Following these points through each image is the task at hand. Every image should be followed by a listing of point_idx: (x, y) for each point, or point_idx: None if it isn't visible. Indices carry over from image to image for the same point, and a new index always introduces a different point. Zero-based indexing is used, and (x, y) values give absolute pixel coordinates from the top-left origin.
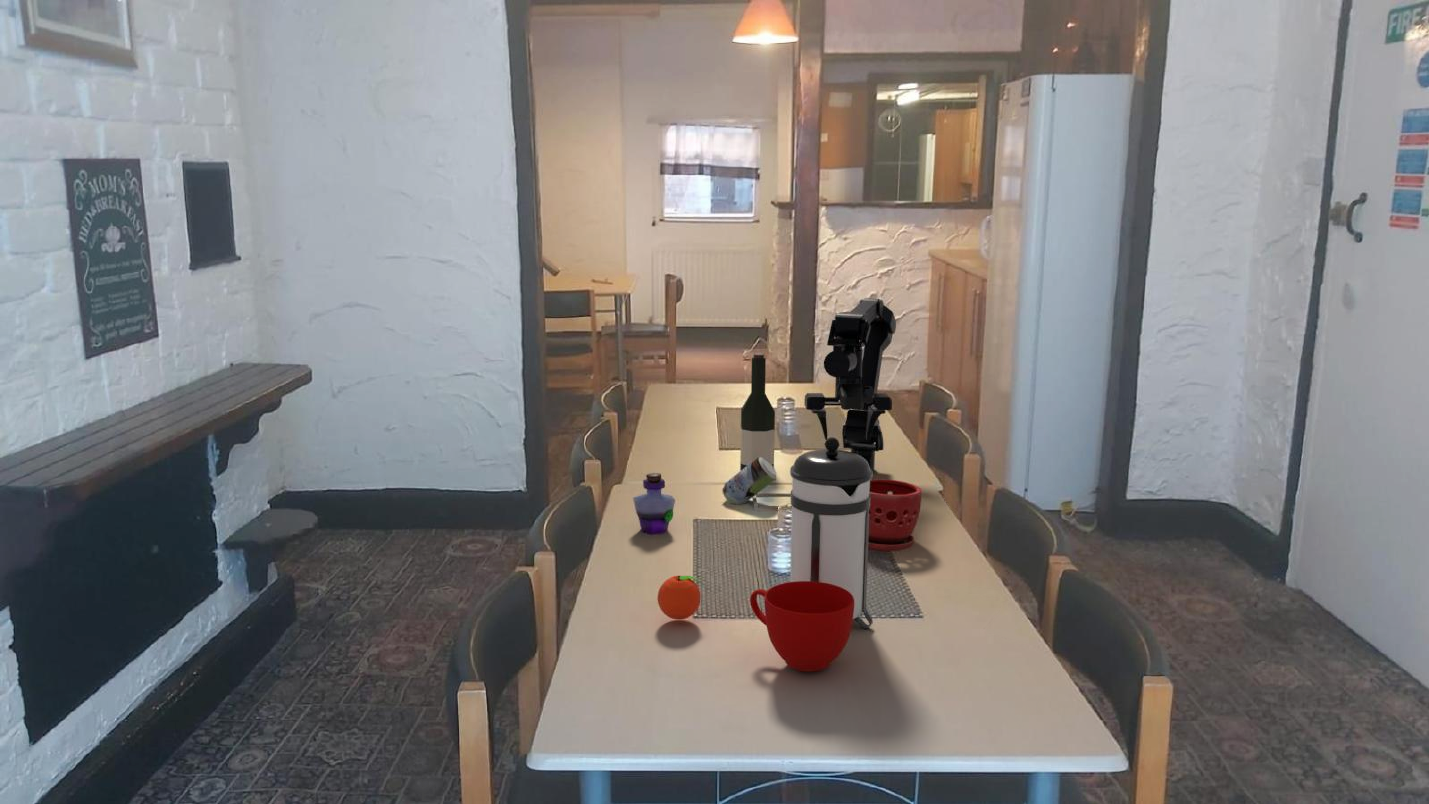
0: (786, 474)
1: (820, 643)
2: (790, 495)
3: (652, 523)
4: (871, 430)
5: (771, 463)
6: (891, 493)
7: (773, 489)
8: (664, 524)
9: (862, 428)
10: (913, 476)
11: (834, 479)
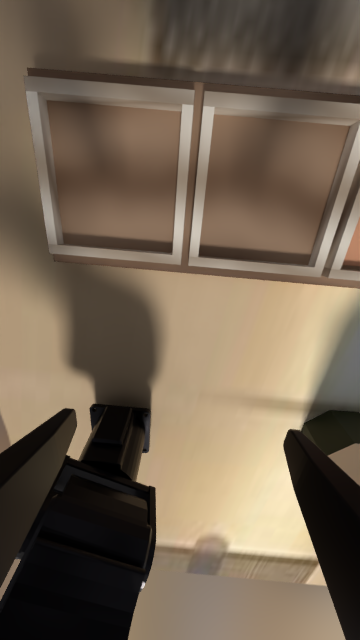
0: (262, 454)
1: None
2: (354, 270)
3: None
4: (9, 449)
5: (334, 455)
6: (70, 253)
7: (330, 373)
8: None
9: (80, 544)
10: (24, 423)
11: None
